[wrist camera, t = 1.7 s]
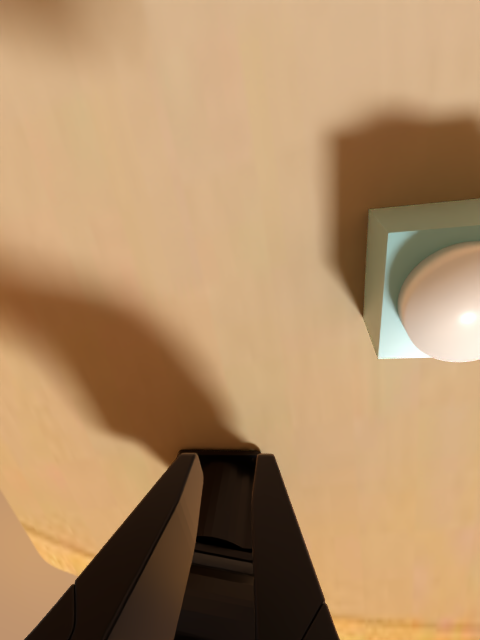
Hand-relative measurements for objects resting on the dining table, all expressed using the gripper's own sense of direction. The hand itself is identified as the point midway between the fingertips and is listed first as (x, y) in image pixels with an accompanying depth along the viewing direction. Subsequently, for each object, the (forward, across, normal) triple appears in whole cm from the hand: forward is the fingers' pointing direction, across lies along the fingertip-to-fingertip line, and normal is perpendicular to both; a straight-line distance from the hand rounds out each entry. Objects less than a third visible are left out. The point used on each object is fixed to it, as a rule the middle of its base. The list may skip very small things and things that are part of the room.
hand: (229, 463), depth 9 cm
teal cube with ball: (+12, -8, 0) cm, 15 cm away
